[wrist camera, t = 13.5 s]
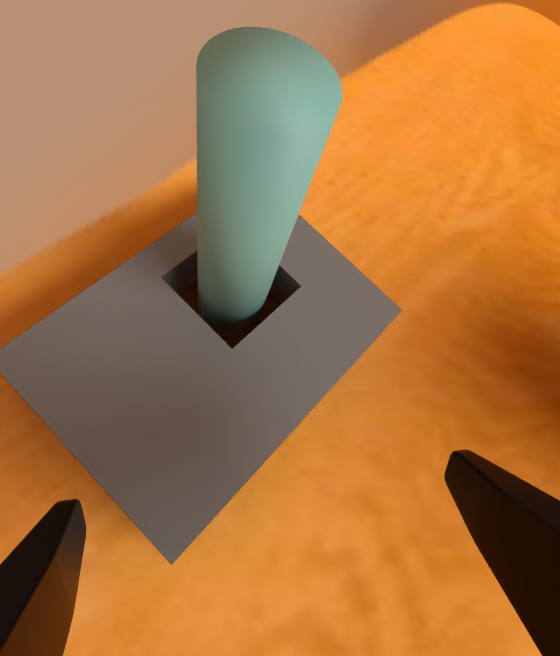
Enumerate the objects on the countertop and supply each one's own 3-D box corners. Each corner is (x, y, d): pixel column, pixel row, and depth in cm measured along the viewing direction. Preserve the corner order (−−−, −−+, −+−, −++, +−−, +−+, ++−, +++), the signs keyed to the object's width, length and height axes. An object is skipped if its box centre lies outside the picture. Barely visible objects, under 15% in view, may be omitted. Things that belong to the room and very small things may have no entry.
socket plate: (176, 547, 16) (171, 565, 13) (22, 375, 17) (-14, 357, 14) (375, 330, 21) (402, 310, 18) (247, 209, 22) (253, 172, 19)
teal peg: (251, 344, 19) (329, 153, 8) (189, 326, 19) (175, 101, 8) (266, 290, 21) (352, 57, 9) (208, 272, 20) (221, 8, 9)
